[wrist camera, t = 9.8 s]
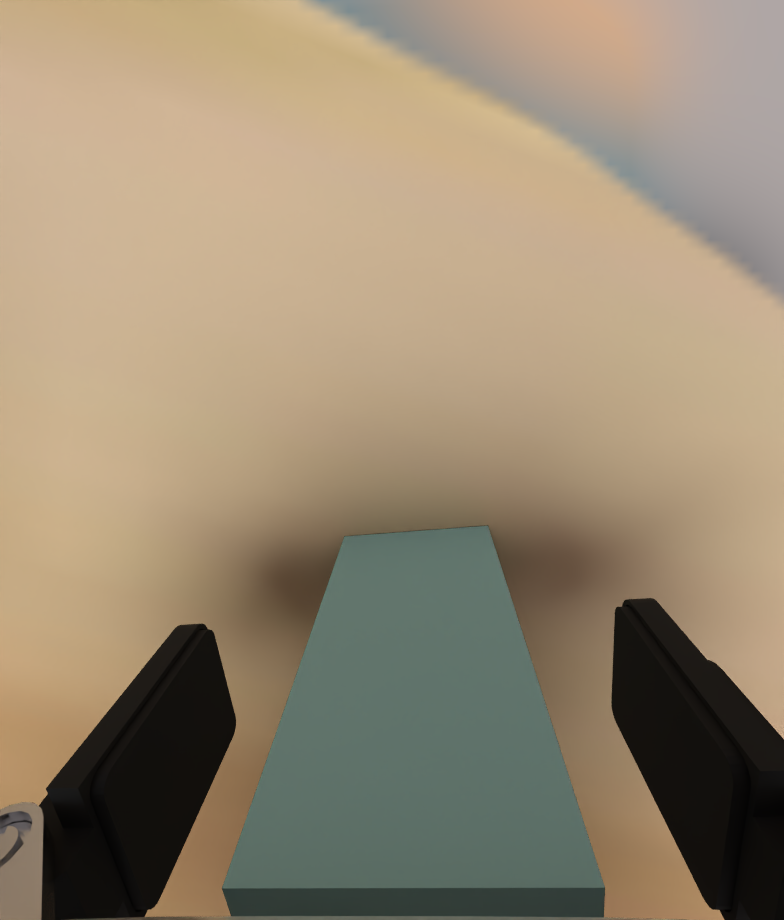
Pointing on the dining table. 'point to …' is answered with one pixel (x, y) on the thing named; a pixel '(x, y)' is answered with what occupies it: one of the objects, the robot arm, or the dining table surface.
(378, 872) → the domino
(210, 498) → the dining table surface
